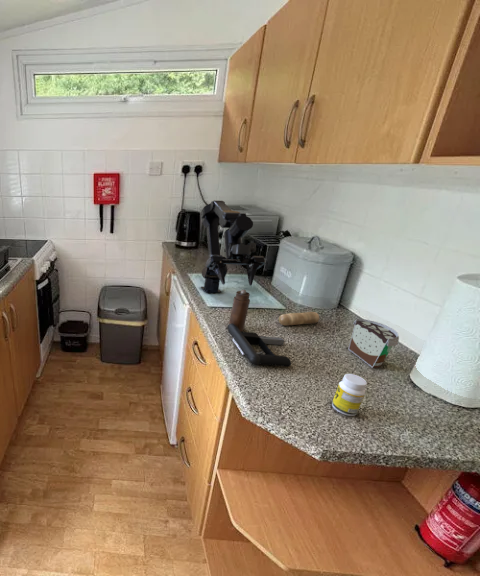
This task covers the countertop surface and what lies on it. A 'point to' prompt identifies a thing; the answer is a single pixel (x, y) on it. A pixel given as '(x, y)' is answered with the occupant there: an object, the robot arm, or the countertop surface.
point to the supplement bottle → (349, 394)
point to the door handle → (249, 338)
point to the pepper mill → (240, 309)
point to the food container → (372, 341)
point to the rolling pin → (299, 318)
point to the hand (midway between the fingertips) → (237, 284)
